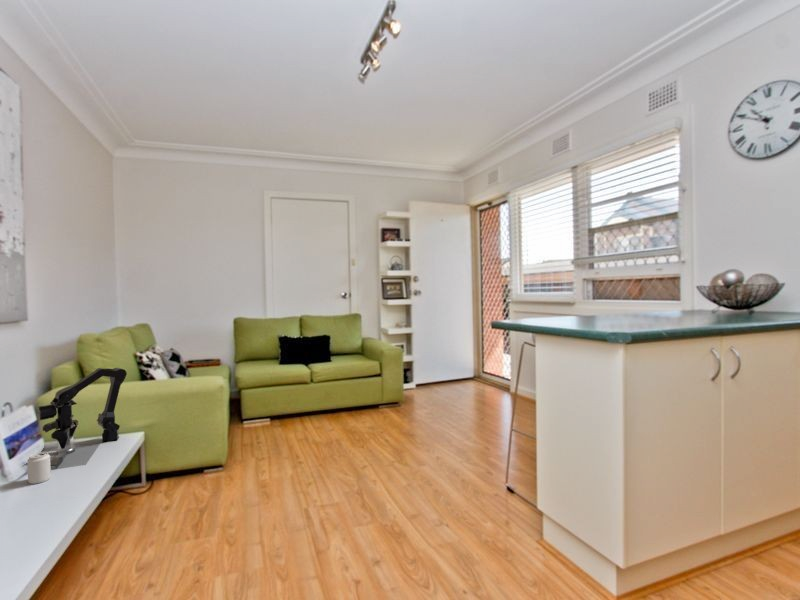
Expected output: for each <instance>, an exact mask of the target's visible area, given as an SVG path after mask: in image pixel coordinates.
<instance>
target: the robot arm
mask: <svg viewBox="0 0 800 600" xmlns="http://www.w3.org/2000/svg"><path fill="white" fill-rule="evenodd" d="M126 376H127V371H126V370H125V369H123V368H120V367H113V368H103V367H99V368H96V369H95V370H94V371H92V372H91V373H90V374H89V373H88V375H86V376H84V377H83V378H81V379H80V380H78V381H77V382H75V383H74V384H71V385H69V386H66V387H64V388H60V389H59V390H57V391H56V393H55V395H54V398H53V399H52V400H51V402H50V403H49V404H45V405H38V407H37V411H36V419H37V420H38V421H45V420H48V419H53V418H54V417H56V416H57V417H56V419H55V420H52V421H51V422H48V423H46V424H44V425H43V426H42V431H43V432H45V433H48V432H49V431H52V430H54V431H53V432H52V433H51V434H50V437H51V439H53V440H57V443H58V442H59V444H60V446H61V449H64V448H65V446H66V443H67V440H68V438H69V437H70V436H73V437H74V435H75V432H76V430H77V428H78V425H79V420H78V419H73V418H74V414H73V406H74V405H77V402H76V401H74V400H73V399H74V398H76V396H77V395H78V394H79V393H80V392H81V391H82V390H83V389H85V388H87V387H88V386H90V385H91V384H93V383H94V382H96V381H97V380H99V379H101V378H102V377H107V378H109V381H110V382H109V383H110V386H109V390H108V393H107V398H106V401H105V405H104V409H103V412H102V413H98V415H97V417H98V418H97V419H96V422H97V425H98V426H99V427H101V428H102V429H103V432H102V434H101V438H102V439H101V441H102V444H105V443H112V442H118V440H119V438H120V436H119V430H120V427H121V425H120V424H118V423H116V415H115V408H116V405H117V402H118V401H117V400H118V396H119V393H120V389H121V385H122V384H123V382H124V381H125V379H126V378H127V377H126Z"/></svg>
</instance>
